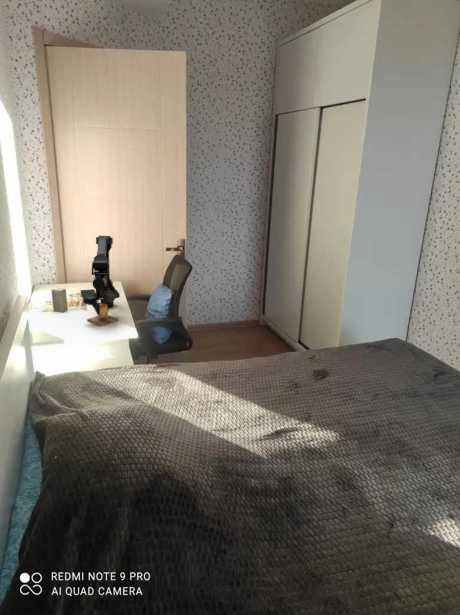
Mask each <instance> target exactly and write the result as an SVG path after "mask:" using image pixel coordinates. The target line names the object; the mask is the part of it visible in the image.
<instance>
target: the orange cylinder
mask: <svg viewBox="0 0 460 615" xmlns="http://www.w3.org/2000/svg"><path fill="white" fill-rule="evenodd" d="M99 310H100V314H99V315H98V314H97V316H98V317H99V318H106V317H108V315H109V313H108V312H109V310H108V308H107V304H100V305H99Z"/></svg>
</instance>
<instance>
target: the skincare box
mask: <svg viewBox="0 0 460 615" xmlns="http://www.w3.org/2000/svg"><path fill="white" fill-rule="evenodd" d="M51 299H52V306H53V307H52V308H53V312H57V313H58V312H60V313H64V312H67V311H68V299H67V289H66V288H65V287H63V288H62V287H54V288H52V289H51Z"/></svg>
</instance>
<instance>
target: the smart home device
mask: <svg viewBox="0 0 460 615" xmlns="http://www.w3.org/2000/svg"><path fill="white" fill-rule="evenodd" d="M95 293H96V289H95V288H94V289H80V294H81V295H80V296H81V297H82V300H83V299H84V298H85V297H89V296H91V297H96V296H94V294H95Z"/></svg>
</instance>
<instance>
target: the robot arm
mask: <svg viewBox="0 0 460 615" xmlns="http://www.w3.org/2000/svg"><path fill="white" fill-rule="evenodd" d="M95 244H96V245H97V250H96V255H95V256H94V257H93V261H92V262H91V276H94V279H93V280H92V287H93V288H94V290H95V294H94V296H96V297H91V296H89V297H85V298H84V299H83V298H82V303H83V304H86V305H88V306H92V307H93V309H94V311H95V313H96V314H97V316H98V315H99V314H100V310H99V305H100V304H107V308H108V311H109V309H110V308H113V307H116V304H114V301H115V300H116V299H118V298H121V297H120V295H121V294H120V293H119V291H118V290H117V289H116V288H115V285H114V283H113V282H114V281H113V280H112V279H111V276H110V275H111V273H110V272H111V270H110V267H111V266H110V250H111V249H112V247H113V244H114V238H113V237H112V236H111V235H98V236H97V237H95Z"/></svg>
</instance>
